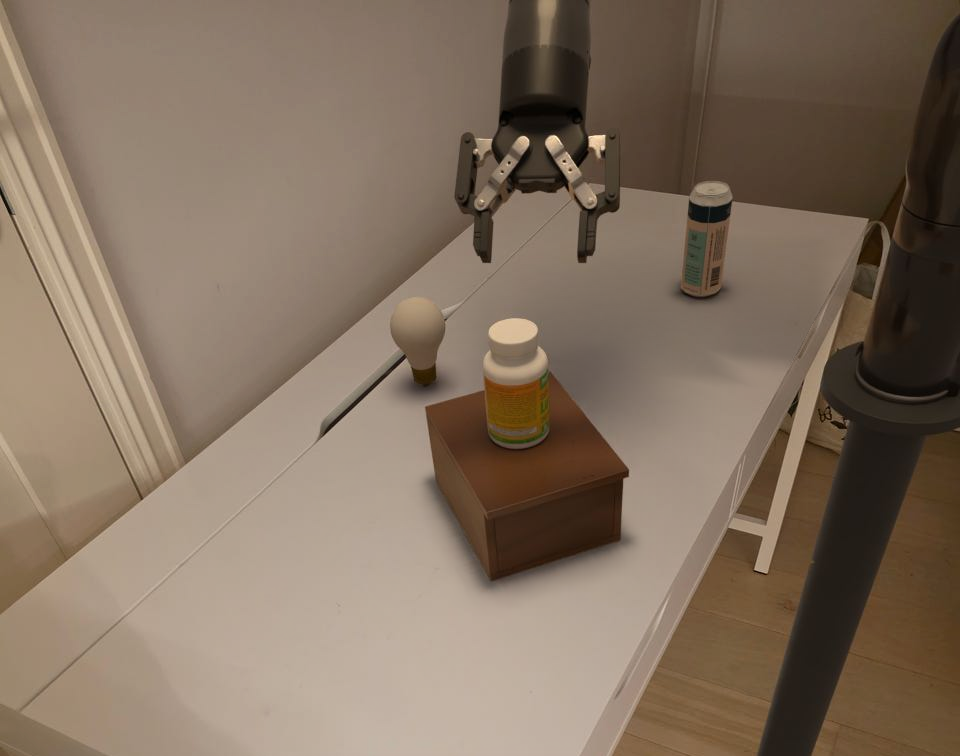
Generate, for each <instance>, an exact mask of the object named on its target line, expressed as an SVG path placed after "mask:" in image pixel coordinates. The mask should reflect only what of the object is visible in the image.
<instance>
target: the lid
mask: <svg viewBox="0 0 960 756" xmlns="http://www.w3.org/2000/svg"><path fill="white" fill-rule="evenodd" d="M548 390H549V432H548V435H547V436H546V438H545V439H544V440H543V441H541V442H540V443H538V444H536V445H534V446H531V447H528V448H523V449H510V448H505V447H502V446H500V445H498V444H496V443H495V442H494V441H493V440H492V439H491V438H490V436H489V433H488V425H487V413H486V401H485V389H483V390H479V391H476V392H472V393H468V394H465V395H460V396H457V397H454V398H450V399H447V400H444V401H440V402H436V403H433V404H428V405H425V406H424V410H425V415H426V414H427V416H428V418H429V420H430V421H431V423H432V425H433V427H434V428H435V430H436V432H437V433H438V435H439V437H440V439H441V440H442V442H443V444H444V445H445V447H446V449H447V451H448V452H449V454H450V456H451V457H452V459H453V461H454V463H455V464H456V466H457V468H458V470H459V471H460V473H461V475H462V476H463V478H464V480H465V482H466V483H467V485H468V487H469V488H470V490H471V492H472V494H473V495H474V497H475V499H476V500H477V502H478V504H479V506H480V507H481V509H482V511H483V512H484V514H485V516H486V518H487V519H488V520H490V519H493V518H496V517H500V516H503V515H506V514H509V513H513V512H516V511H519V510H522V509H526V508H529V507H532V506H536V505H539V504H542V503H545V502H549V501H552V500H555V499H558V498H562V497H565V496H568V495H572V494H575V493H578V492H581V491H585V490H588V489H591V488H594V487H598V486H601V485H604V484H608V483H611V482H614V481H617V480H621V479H624V480H625V479H627V478H629V477H630V469H629V468H628V466H627V465H626V463H625V462H624V461H623V460H622V459H621V457H620V456H619V455H618V454H617V452H616V451H615V450H614V449H613V448H612V446H611V445H610V443H609V442H608V441H607V440H606V439H605V437H603V435H602V434H601V432H600V431H599V430H598V429H597V428H596V426H595V425H594V424H593V423H592V421H591V420H590V419H589V418H588V417H587V415H586V414H585V413H584V411H583V410H582V409H581V408H580V406H579V405H578V404H577V402H576V401H575V400H574V399H573V398H572V396H571V395H570V394H569V392H568V391H567V390H566V388H564V386H563V385H562V384H561V382H560V381H559V380H558V378H556V377H555V375H554V374H553V372H552V371H548Z"/></svg>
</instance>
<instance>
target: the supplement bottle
mask: <svg viewBox="0 0 960 756" xmlns="http://www.w3.org/2000/svg"><path fill="white" fill-rule="evenodd" d="M487 333H488V334H487V335H488V347H489V350H488V351H487V352H486V354H485V356H484V357H483V361H482V376H483V386H484V387H483V388H484V389H483V390H485V401H486V413H487V425H488V433H489V436H490V438H491V439H492V440H493V441H494V442H495V443H496V444H498V445H500V446H502V447H505V448H510V449H523V448H528V447H531V446H534V445H536V444H538V443H540V442H541V441H543V440H544V439H545V438H546V436H547V435H548V432H549V390H548V372H549V363H548V356H547V354H546V352H545V351H544V349H542V347H540V346H539V342H540V341H539V328H538V326H537V325H536V324H535V322H533V321H531V320H529V319H525V318H521V317H520V318H519V317H512V318H505V319H502V320H499V321H497V322H495V323H494V324H492V325H491V326H490V328H489V330H488V331H487Z"/></svg>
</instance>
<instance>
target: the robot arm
mask: <svg viewBox="0 0 960 756" xmlns="http://www.w3.org/2000/svg"><path fill="white" fill-rule="evenodd" d="M958 2H959V3H960V0H958ZM590 13H591V0H508V8H507V15H506V16H507V17H506V22H505V27H504V33H503V40H502V41H503V42H502V58H501V59H502V60H501V73H500V74H501V75H500V92H499V93H500V94H499V109H498V124H497V125H498V126H497V130H496V132H495V134H494V135H493V137H492V138H477V137H475V135H474V134H473V132H470V131H466V132H464V133H463V134H462V135H461V137H460V144H459V153H458V159H457V161H458V162H457V170H456V179H455V187H454V201H455V202H456V204H457V206H458V208H459V211H460V212H461V214H463V215H470V216H473V217H474V220H473V235H472V236H473V238H472V245H473V249H474V252H475V254H476V256H477V257H479V258H480V260H481V262H482V264H491V263H492V257H493V256H492V254H493V239H494V219H493V216H494V215H495V214H496V213H497V212H498V210H499V209H500V208H501V206H502V205H503V204H506V203H507V202H508V201H509V199H510V198H511V197H512V196H513V194H514V193H515V192H516V191H520V193H521V194H525V195H526V194H534V193H537V192H543V193H546V194H557V193H558V191H559V190H561V189H563V188H564V189H565V191H566V192H567V195H568V196H569V197H570V198H571V200H572V202H574V203H575V204H576V205H577V207H578V208H579V217H578V231H577V232H578V234H577V235H578V236H577V249H576V250H577V251H576V258H577V263H578V264H587V263H588V257H593V256H594V254H595V252H596V245H597V244H596V240H597V229H598V228H597V227H598V220H599V218H601V216H602V215H604V214H607V213H610V214H613V213H614V214H615V213H616V212H618V211H619V209H620V208H621V207H620V206H621V134H620V131H619V129H617V128H616V127H611V128H609V129H607V130H606V132H605V134H598V135H588V133H587V130H586V119H587V105H588V104H587V103H588V91H589V90H588V88H589V72H590V69H591V64H592V57H591V44H592V43H591V41H592V39H591V38H592V35H591V20H590V19H591V17H590ZM590 153H592V154H594V155H595V157H596V162H597V163H598V164H599V165H602V166H604V190H603V191H602V192H598V193H596V194H595V193H594V192H593V190H592V189H591V187H590V186H589V184H588V183H587V181H586V179H585V177H584V175H583V173H582V172H581V170H580V167H581V165H582V164H583V163H584V162H585V160H586V158H588V156H589V154H590ZM490 156H493V158H494V160H495V161H496V162H497V164H498V165H497V167H496V168H495V169H494V170H493V172H492V173H491V174H490V176H489V178H488V180H487V184H486V185H485V186H484V187H483V189H482V190H481V191H480V193H479V194H478V195H475V194H476V186H477V177H478V168H482V167H484V165H485V163H486V160H487V159H488V157H490ZM904 169H905V180H906V182H905V186H904V191H903V195H902V198H901V202H900V206H899V210H898V214H897V218H896V221H895V225H894V229H893V232H892V235H891V240H890V242H889V243H890V244H889V248H888V251H887V255H886V259H885V262H884V266H883V269H882V273H881V276H880V281H879V284H878V288H877V292H876V295H875V299H874V303H873V306H872V310H871V313H870V317H869V321H868V325H867V328H866V332H865V336H864V339H863V340H862V341H863V342H862V343H861V344H860V345H859V346H858V347H857V350H856V354H855V357H856V356H857V355H858V354H859V353H860V356H859V360H858V362H857V365H856V368H855V373H854V375H855V380H856V382H857V383H858V385H859V386H860V387H861V388H862V389H863V390H865V391H866V392H867V393H869V394H871V395H873V396H875V397H877V398H879V399H882V400H885V401H889V402H893V403H899V404H909V405H917V404H927V403H932V402H935V401H938V400H941V399H943V398H945V397H957V396H958V393H959V390H960V10H959V11H958V12H957V13H956V14H955V15H954V16H953V18H952V19H951V20H950V22H949V23H948V24H947V25H946V27H945V28H944V30H943V31H942V33H941V35H940V37H939V39H938V41H937V43H936V45H935V47H934V50H933V52H932V55H931V58H930V62H929V63H928V67H927V71H926V74H925V77H924V82H923V85H922V89H921V93H920V97H919V101H918V106H917V110H916V114H915V118H914V123H913V126H912V131H911V135H910V140H909V145H908V148H907V154H906V158H905V168H904Z"/></svg>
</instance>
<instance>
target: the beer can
mask: <svg viewBox="0 0 960 756" xmlns="http://www.w3.org/2000/svg"><path fill="white" fill-rule="evenodd" d="M732 205H733V194H732V191H731V187H730V186H729V185H728V183H725V182H724V181H719V180H706V181H702V182H698V183H697V184H696V185H695V186H694V187H693V190H692V191H691V193H690V194H689V197H688V207H687V216H686V217H687V219H686V228H685V239H684V249H683V260H682V269H681V270H682V271H681V281H680V288H681V290H682V291H683V292H684V293H686V294H688V295H689V296H691V297H696V298H706V297H709V296H712V295H714V294H716V293H718V292H719V291H720V290H721V288H722V284H723V283H722V281H723V275H724V269H725V268H724V267H725V260H726V259H725V258H726V252H727V243H728V238H729V237H728V236H729V228H730V222H731V221H730V220H731V214H732V213H731V212H732Z"/></svg>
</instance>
